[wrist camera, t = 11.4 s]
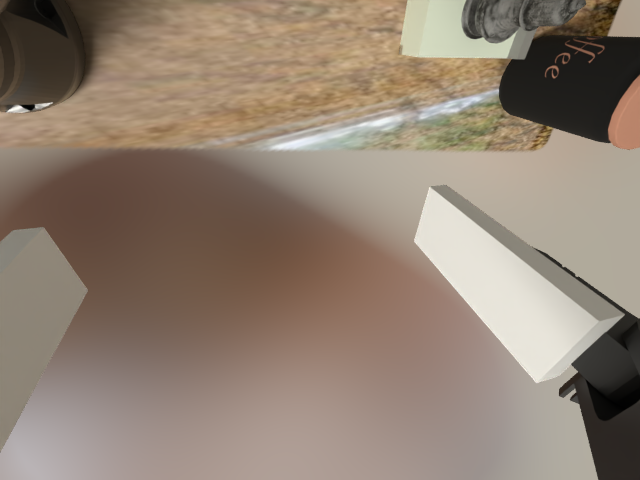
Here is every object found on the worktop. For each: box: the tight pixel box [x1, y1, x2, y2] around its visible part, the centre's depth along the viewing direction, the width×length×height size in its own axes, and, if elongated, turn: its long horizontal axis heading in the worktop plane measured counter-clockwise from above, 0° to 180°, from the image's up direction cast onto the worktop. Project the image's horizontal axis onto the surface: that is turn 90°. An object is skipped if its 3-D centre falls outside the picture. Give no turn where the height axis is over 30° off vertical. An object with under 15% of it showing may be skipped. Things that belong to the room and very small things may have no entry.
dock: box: [399, 0, 537, 59], centre depth 33 cm, size 14×9×7 cm, turn 89°
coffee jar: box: [499, 35, 640, 150], centre depth 36 cm, size 11×11×18 cm
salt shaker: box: [461, 0, 586, 44], centre depth 27 cm, size 6×6×12 cm
